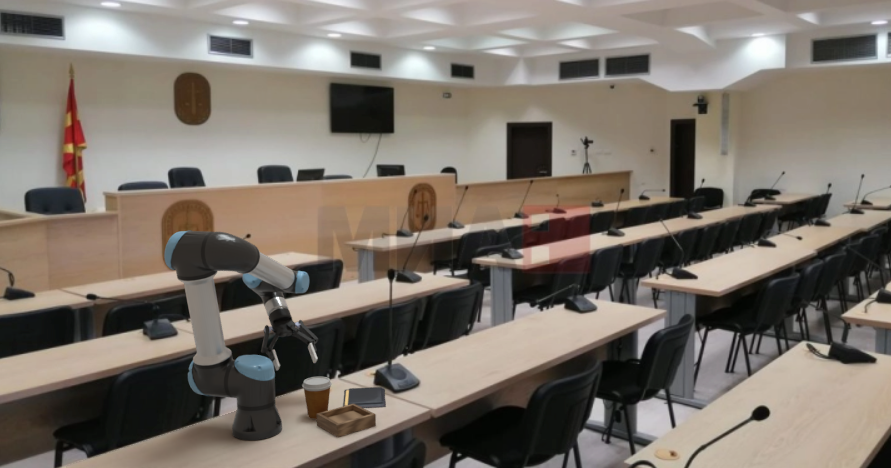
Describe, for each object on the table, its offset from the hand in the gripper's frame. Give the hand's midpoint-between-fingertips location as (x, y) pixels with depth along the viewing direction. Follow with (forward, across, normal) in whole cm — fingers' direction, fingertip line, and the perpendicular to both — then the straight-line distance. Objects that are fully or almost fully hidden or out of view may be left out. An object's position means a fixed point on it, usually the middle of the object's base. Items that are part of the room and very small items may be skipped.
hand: (297, 364), depth 244 cm
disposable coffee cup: (+18, -2, -3) cm, 19 cm away
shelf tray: (+28, -6, +6) cm, 29 cm away
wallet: (+15, -23, -8) cm, 28 cm away
